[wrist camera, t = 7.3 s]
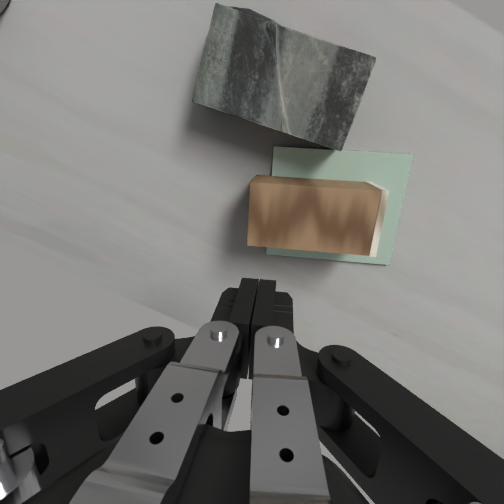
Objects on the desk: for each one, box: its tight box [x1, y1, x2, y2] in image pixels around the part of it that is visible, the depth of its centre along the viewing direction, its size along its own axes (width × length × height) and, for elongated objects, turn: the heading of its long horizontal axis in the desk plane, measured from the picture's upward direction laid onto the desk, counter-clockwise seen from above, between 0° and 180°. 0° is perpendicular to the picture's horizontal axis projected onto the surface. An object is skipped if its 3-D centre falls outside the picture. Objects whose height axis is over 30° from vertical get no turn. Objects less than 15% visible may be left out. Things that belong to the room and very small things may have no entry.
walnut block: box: [247, 175, 389, 257], centre depth 31 cm, size 6×6×12 cm
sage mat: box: [266, 146, 414, 265], centre depth 34 cm, size 12×14×1 cm
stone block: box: [192, 3, 376, 152], centre depth 28 cm, size 9×14×5 cm, turn 72°
